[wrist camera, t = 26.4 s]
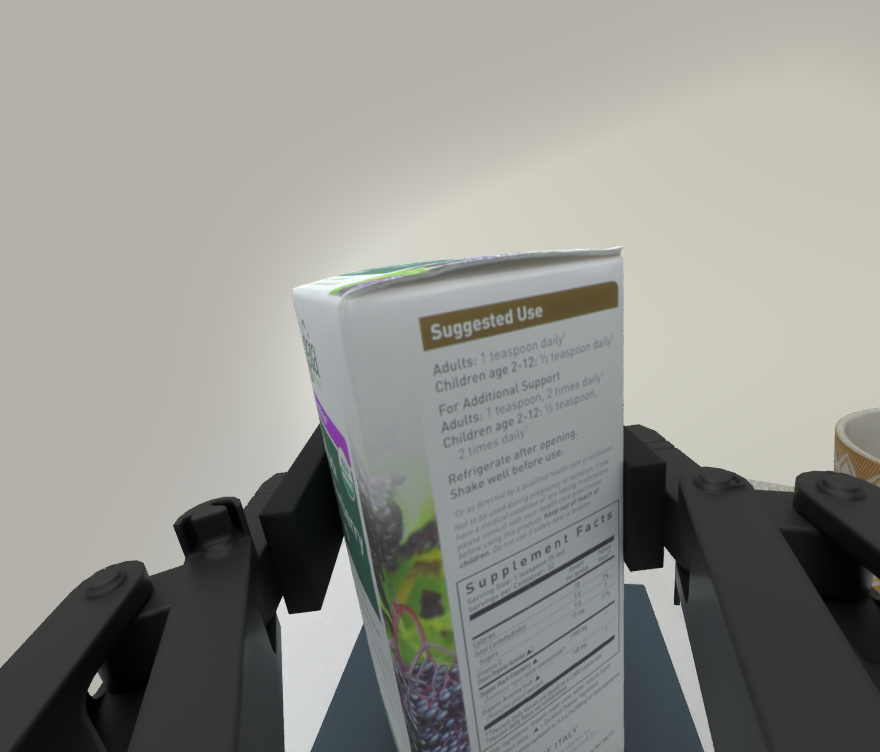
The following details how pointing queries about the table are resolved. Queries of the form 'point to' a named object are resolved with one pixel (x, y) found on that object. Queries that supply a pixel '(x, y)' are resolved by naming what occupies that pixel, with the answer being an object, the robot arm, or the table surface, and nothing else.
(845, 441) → the planter
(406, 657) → the syrup box
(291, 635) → the table surface
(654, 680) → the cabinet
